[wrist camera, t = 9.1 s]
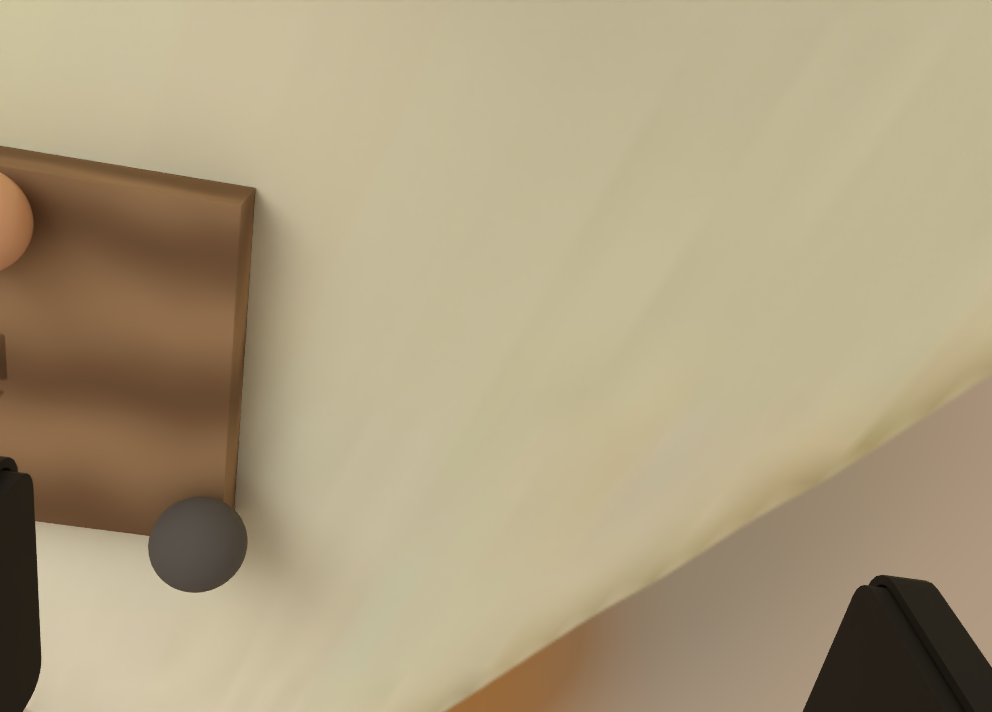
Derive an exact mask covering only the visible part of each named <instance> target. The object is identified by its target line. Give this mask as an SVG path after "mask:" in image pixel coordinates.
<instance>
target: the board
mask: <svg viewBox="0 0 992 712" xmlns="http://www.w3.org/2000/svg"><path fill="white" fill-rule="evenodd" d="M0 172H1V173H3V174H4V175H6V176H7V177H9V178H10V179H11V180H13V181H14V182H15V183H16V184H17V185H18V186H19V187H20V189H21V190H22V191H23V193H24V194H25V196H26V197H27V199H28V201H29V204H30V206H31V209H32V213H33V220H34V228H33V234H32V238H31V241H30V243H29V245H28V247H27V249H26V251H25V252H24V253H23V255H22V256H21V257H20V258H19V259H18V260H17V261H16V262H15V263H13V264H12V265H10V266H9V267H7V268H5V269H3V270H1V271H0V456H4V457H10V458H12V459H14V460H15V462H16V464H17V467H18V472H21V473H27V474H29V475H30V476H31V478H32V480H33V488H34V510H35V521H39V522H46V523H54V524H62V525H70V526H77V527H85V528H93V529H101V530H108V531H116V532H124V533H132V534H139V535H147V536H150V534H151V531H152V528H153V526H154V524H155V522H156V521H157V519H158V518H159V517H160V515H161V514H162V513H163V512H164V511H165V510H166V509H168V508H169V507H170V506H172V505H173V504H175V503H177V502H179V501H181V500H184V499H187V498H191V497H211V498H215V499H218V500H220V501H223V502H224V503H226V504H228V505H229V506H230V507H232V508H233V509H234V504H235V489H236V474H237V459H238V444H239V429H240V414H241V399H242V384H243V369H244V353H245V338H246V323H247V308H248V293H249V278H250V263H251V248H252V233H253V218H254V203H255V188H252V187H246V186H240V185H234V184H228V183H222V182H216V181H210V180H203V179H197V178H191V177H185V176H179V175H173V174H167V173H161V172H155V171H149V170H143V169H137V168H131V167H125V166H119V165H113V164H106V163H100V162H94V161H88V160H82V159H76V158H70V157H64V156H58V155H52V154H46V153H40V152H34V151H28V150H22V149H16V148H10V147H3V146H0Z"/></svg>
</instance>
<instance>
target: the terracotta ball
mask: <svg viewBox="0 0 992 712" xmlns="http://www.w3.org/2000/svg"><path fill="white" fill-rule="evenodd" d="M33 228H34V220H33V213H32V209H31V206H30V204H29V201H28V199H27V197H26V196H25V194H24V193H23V191H22V190H21V189H20V187H19V186H18V185H17V184H16V183H15V182H14V181H13V180H11V179H10V178H9V177H7V176H6V175H4V174H3V173H1V172H0V271H1V270H3V269H5V268H7V267H9V266H10V265H12V264H13V263H15V262H16V261H17V260H18V259H19V258H20V257H21V256H22V255H23V253H24V252H25V251H26V249H27V247H28V245H29V243H30V241H31V238H32V234H33Z"/></svg>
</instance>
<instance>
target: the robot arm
mask: <svg viewBox="0 0 992 712" xmlns="http://www.w3.org/2000/svg"><path fill="white" fill-rule="evenodd" d="M40 668H41V642H40V620H39V598H38V576H37V554H36V532H35V510H34V488H33V480H32V478H31V476H30V475H29V474H27V473H21V472H18V467H17V464H16V462H15V460H14V459H12V458H10V457H4V456H0V712H23V710H24V709H25V707H26V705H27V703H28V702H29V700H30V698H31V696H32V694H33V692H34V690H35V687H36V684H37V682H38V678H39V674H40ZM803 712H992V667H991V666H990V664H989V663H988V661H987V660H986V658H985V657H984V656H983V654H982V653H981V651H980V650H979V649H978V647H977V645H976V644H975V643H974V641H973V640H972V638H971V637H970V635H969V634H968V632H967V631H966V629H965V628H964V627H963V625H962V624H961V622H960V621H959V619H958V618H957V616H956V615H955V614H954V612H953V611H952V609H951V608H950V606H949V605H948V603H947V602H946V601H945V599H944V598H943V596H942V595H941V594H940V592H939V590H938V589H937V588H936V587H935V586H934V585H933V584H932V583H930V582H927V581H924V580H917V579H909V578H902V577H894V576H887V575H880V576H876V577H875V578H874V579H873V580H871V582H870V584H869V585H863V586H860V587H859V588H858V589H857V590H856V591H855V593H854V595H853V597H852V599H851V602H850V604H849V606H848V608H847V611H846V613H845V615H844V618H843V620H842V622H841V625H840V627H839V630H838V632H837V634H836V636H835V638H834V641H833V643H832V645H831V648H830V650H829V652H828V655H827V657H826V659H825V662H824V664H823V666H822V668H821V671H820V673H819V675H818V678H817V680H816V682H815V685H814V687H813V689H812V692H811V694H810V696H809V698H808V701H807V703H806V705H805V708H804V710H803Z"/></svg>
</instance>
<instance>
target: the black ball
mask: <svg viewBox="0 0 992 712" xmlns="http://www.w3.org/2000/svg"><path fill="white" fill-rule="evenodd" d="M148 549H149V557H150V561H151V564H152V567H153V568H154V570H155V572H156V573H157V575H158V576H159V577H160V578H161V579H162V580H163V581H164V582H165V583H167V584H168V585H170V586H171V587H173V588H175V589H178V590H181V591H185V592H193V593H196V592H205V591H209V590H212V589H215V588H217V587H219V586H221V585H223V584H224V583H226V582H227V581H228V580H229V579H230V578H232V577H233V576H234V575H235V573H236V572H237V571H238V569H239V568H240V566H241V564H242V562H243V560H244V558H245V554H246V550H247V533H246V529H245V526H244V523H243V521H242V519H241V518H240V516H239V515H238V513H237V512H236V511H235V510H234V509H233V508H232V507H230V506H229V505H228V504H226V503H224V502H223V501H220V500H218V499H215V498H211V497H191V498H187V499H184V500H181V501H179V502H177V503H175V504H173V505H172V506H170V507H169V508H168V509H166V510H165V511H164V512H163V513H162V514H161V515H160V517H159V518H158V519H157V521H156V522H155V524H154V526H153V528H152V531H151V534H150V537H149V544H148Z"/></svg>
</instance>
